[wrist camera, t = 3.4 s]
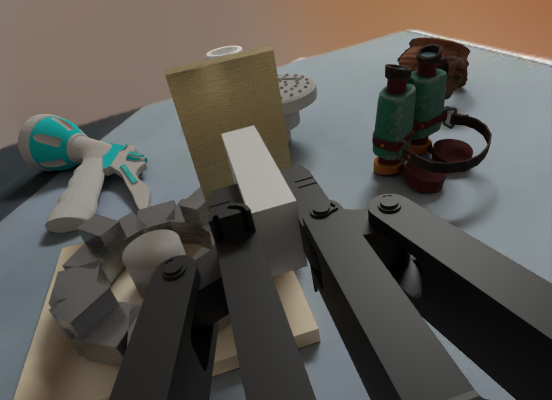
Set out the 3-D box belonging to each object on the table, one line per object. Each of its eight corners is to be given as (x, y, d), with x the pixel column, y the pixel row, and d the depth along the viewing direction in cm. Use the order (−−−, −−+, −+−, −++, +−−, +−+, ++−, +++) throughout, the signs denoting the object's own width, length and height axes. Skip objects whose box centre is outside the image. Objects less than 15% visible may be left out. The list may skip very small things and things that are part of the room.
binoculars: (475, 97, 26) (357, 65, 33) (447, 217, 33) (354, 171, 39) (536, 57, 30) (421, 35, 37) (500, 170, 37) (408, 135, 43)
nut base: (15, 440, 22) (-32, 398, 20) (68, 258, 35) (44, 219, 33) (320, 340, 24) (312, 291, 22) (263, 203, 37) (254, 163, 35)
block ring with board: (43, 398, 22) (-144, 192, 15) (82, 246, 34) (-10, 86, 26) (335, 305, 24) (309, 81, 17) (278, 191, 36) (247, 28, 28)
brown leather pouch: (373, 98, 55) (391, 37, 53) (430, 114, 58) (450, 56, 56) (419, 103, 44) (445, 26, 42) (488, 123, 47) (516, 50, 45)
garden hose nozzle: (136, 188, 36) (163, 93, 52) (-59, 208, 36) (26, 106, 51) (155, 242, 41) (175, 141, 56) (-17, 260, 40) (50, 152, 56)
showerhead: (212, 98, 42) (254, 67, 49) (227, 158, 46) (264, 121, 53) (293, 99, 38) (326, 65, 45) (302, 164, 42) (331, 123, 49)
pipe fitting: (208, 105, 62) (194, 53, 58) (250, 92, 64) (239, 41, 60) (219, 117, 57) (205, 61, 53) (265, 103, 59) (254, 48, 55)
